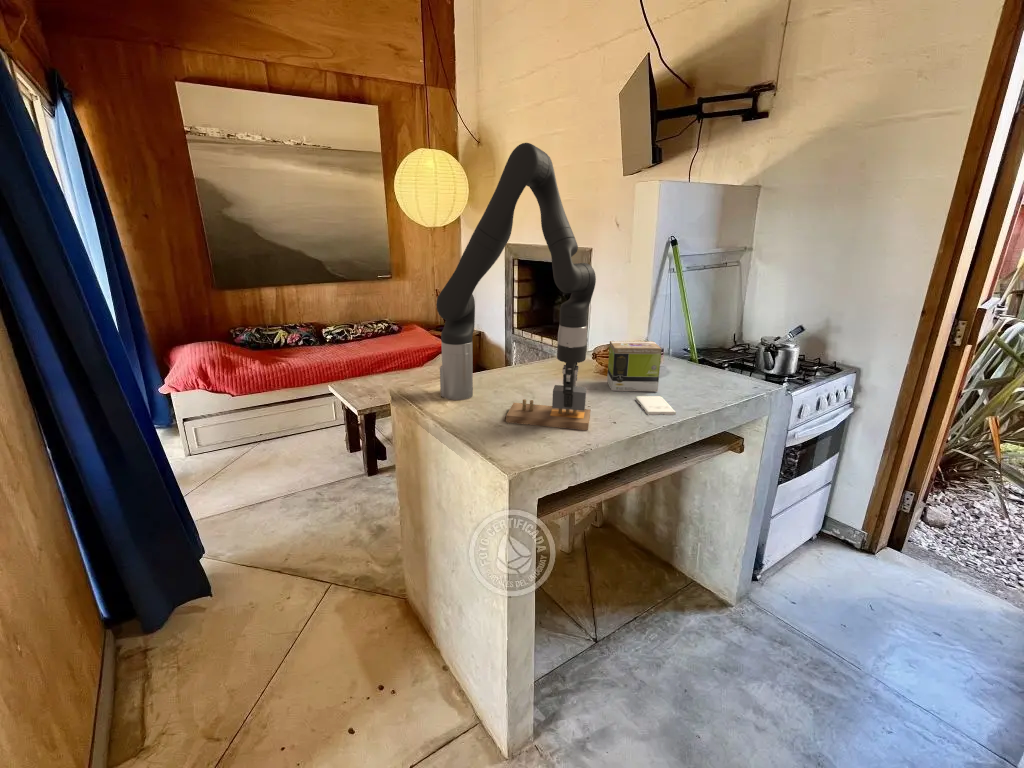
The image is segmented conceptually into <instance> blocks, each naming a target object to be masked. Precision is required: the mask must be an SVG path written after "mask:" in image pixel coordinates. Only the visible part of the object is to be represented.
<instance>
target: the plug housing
mask: <svg viewBox="0 0 1024 768" xmlns="http://www.w3.org/2000/svg"><path fill="white" fill-rule="evenodd" d="M566 389H568V390H571V388H570V387H566ZM573 391H574V393H573V401H572V407H571V408H569V407H564V394H563V384H562V385H561V384H560V385H559V384H554V386H553V389H552V404H551V406H552V408H560V409H571V410H583V411H584V410H585V409H586V403H587V400H586V399H587V387H586V386H574V390H573Z"/></svg>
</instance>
